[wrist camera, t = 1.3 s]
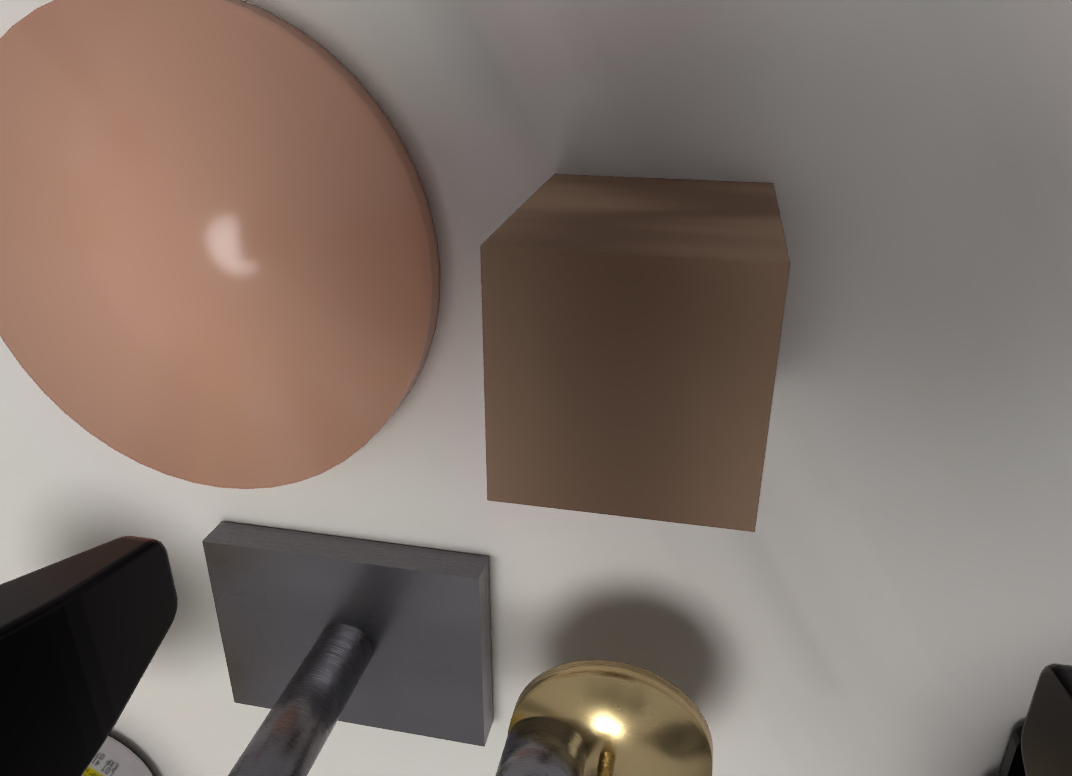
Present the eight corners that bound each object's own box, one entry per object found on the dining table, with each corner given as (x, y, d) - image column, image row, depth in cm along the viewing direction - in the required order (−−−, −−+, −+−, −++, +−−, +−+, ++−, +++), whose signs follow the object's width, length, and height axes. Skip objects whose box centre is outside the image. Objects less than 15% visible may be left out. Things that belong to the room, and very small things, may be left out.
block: (773, 182, 17) (789, 263, 12) (749, 384, 19) (754, 531, 14) (554, 173, 18) (480, 245, 13) (553, 368, 20) (487, 500, 15)
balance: (725, 587, 22) (719, 960, 13) (705, 756, 24) (689, 1159, 16) (33, 496, 26) (-309, 739, 17) (78, 649, 28) (-201, 927, 20)
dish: (425, -15, 17) (405, -17, 16) (450, 489, 22) (436, 514, 21) (-70, -15, 19) (-116, -15, 18) (55, 442, 24) (24, 463, 23)
